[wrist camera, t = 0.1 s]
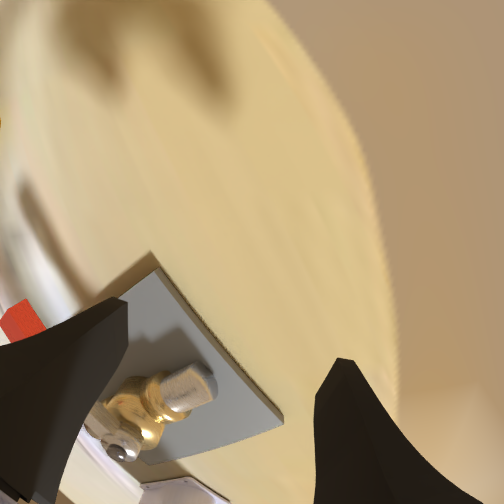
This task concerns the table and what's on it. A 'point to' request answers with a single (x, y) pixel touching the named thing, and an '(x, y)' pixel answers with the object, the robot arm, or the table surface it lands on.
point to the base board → (179, 356)
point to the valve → (160, 400)
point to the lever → (99, 418)
